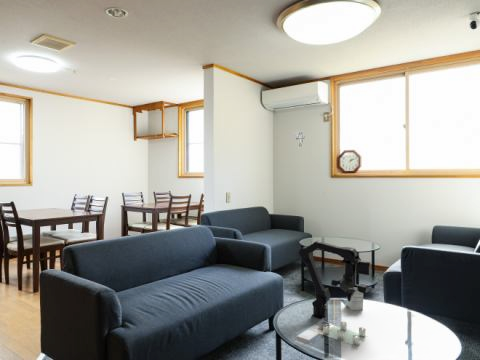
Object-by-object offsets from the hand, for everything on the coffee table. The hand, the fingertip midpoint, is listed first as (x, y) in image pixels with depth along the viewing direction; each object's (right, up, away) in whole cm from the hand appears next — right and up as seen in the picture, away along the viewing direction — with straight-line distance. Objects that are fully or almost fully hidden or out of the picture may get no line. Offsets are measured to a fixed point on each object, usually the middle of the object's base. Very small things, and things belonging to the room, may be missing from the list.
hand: (349, 301), depth 180 cm
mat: (-9, -12, -13) cm, 20 cm away
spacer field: (-7, -11, -14) cm, 20 cm away
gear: (-15, -11, -8) cm, 21 cm away
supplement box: (+10, -12, +22) cm, 27 cm away
